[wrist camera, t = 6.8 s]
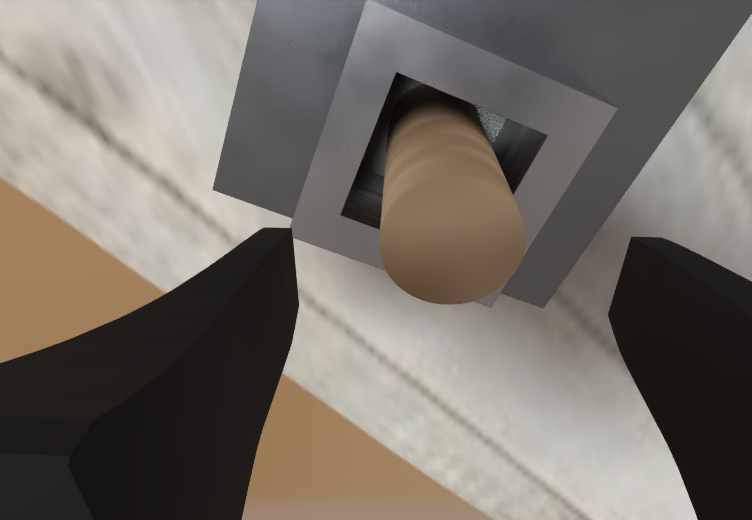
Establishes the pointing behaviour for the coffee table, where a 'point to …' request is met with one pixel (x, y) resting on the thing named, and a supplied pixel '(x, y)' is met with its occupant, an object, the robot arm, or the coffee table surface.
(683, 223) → the coffee table surface
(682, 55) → the mount plate
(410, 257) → the pin
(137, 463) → the robot arm
